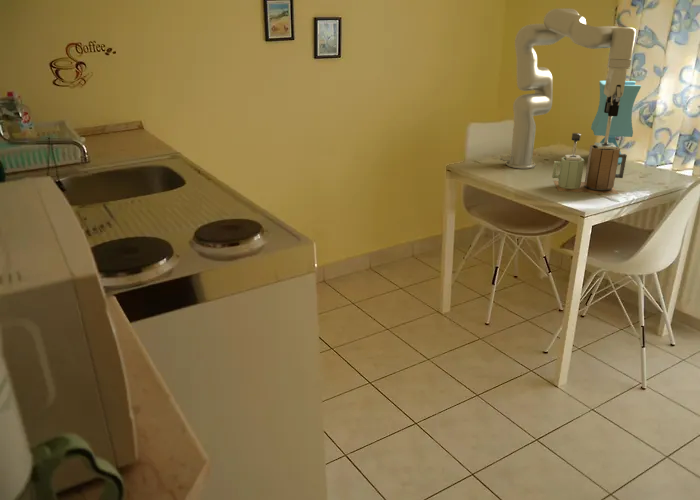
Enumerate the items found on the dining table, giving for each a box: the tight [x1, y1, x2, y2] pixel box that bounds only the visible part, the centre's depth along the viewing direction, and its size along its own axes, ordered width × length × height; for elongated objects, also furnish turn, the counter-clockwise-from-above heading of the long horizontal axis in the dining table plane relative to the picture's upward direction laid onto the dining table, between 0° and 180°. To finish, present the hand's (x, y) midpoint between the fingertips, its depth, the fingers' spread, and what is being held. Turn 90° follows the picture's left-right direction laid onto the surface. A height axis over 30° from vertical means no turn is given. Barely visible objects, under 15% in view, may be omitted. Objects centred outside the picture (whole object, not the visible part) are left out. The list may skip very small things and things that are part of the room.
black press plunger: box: [603, 103, 612, 150], centre depth 217 cm, size 6×6×20 cm
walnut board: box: [553, 180, 619, 195], centre depth 227 cm, size 22×14×1 cm, turn 79°
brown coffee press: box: [584, 142, 627, 191], centre depth 222 cm, size 13×10×17 cm
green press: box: [551, 154, 585, 189], centre depth 225 cm, size 11×8×12 cm
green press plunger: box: [571, 132, 582, 157], centre depth 222 cm, size 5×5×13 cm
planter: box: [590, 80, 642, 165], centre depth 262 cm, size 16×16×35 cm
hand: (610, 114), depth 214 cm, fingers open, 6 cm apart
